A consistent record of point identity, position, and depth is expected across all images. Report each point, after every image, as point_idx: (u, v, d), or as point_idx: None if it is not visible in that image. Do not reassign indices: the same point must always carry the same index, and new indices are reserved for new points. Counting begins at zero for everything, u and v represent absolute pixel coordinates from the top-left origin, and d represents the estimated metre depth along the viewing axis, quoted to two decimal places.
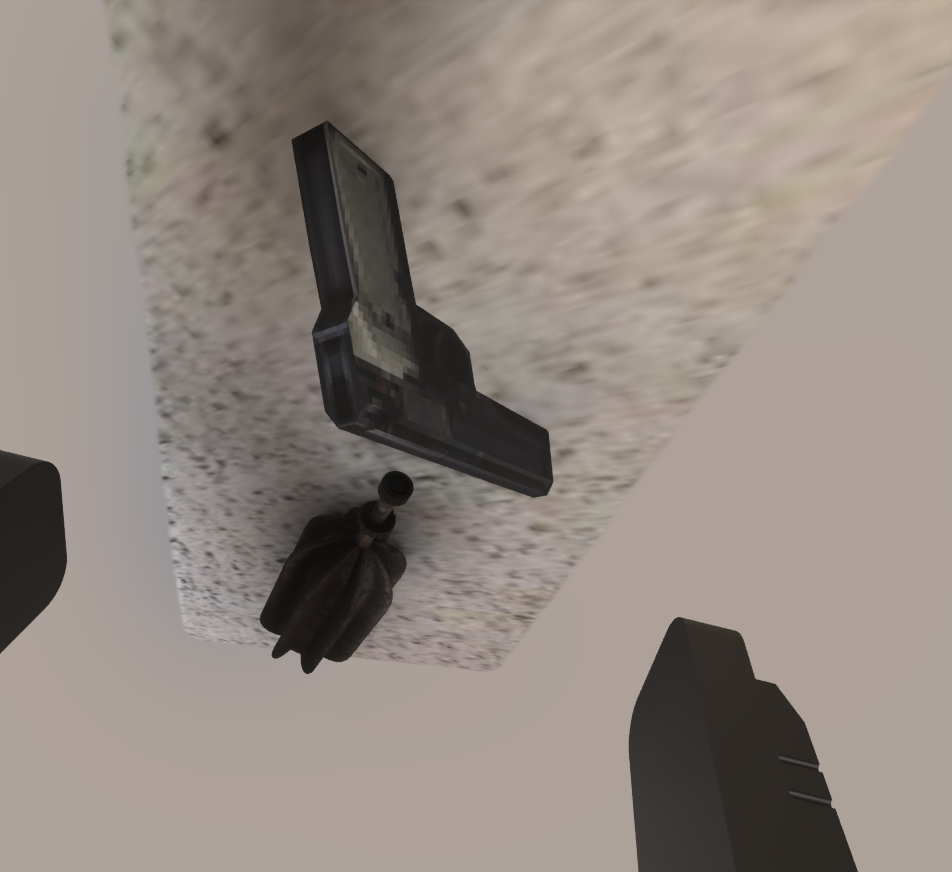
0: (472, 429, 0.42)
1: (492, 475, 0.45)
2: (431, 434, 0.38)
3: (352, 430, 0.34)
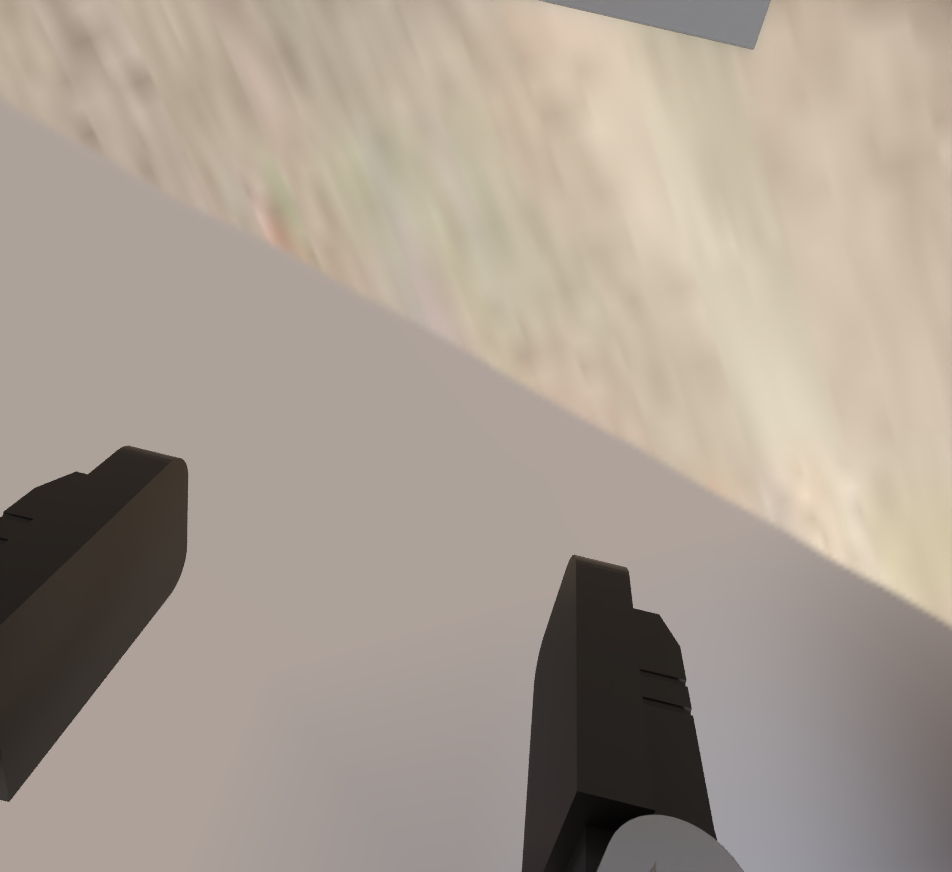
0: None
1: None
2: None
3: None
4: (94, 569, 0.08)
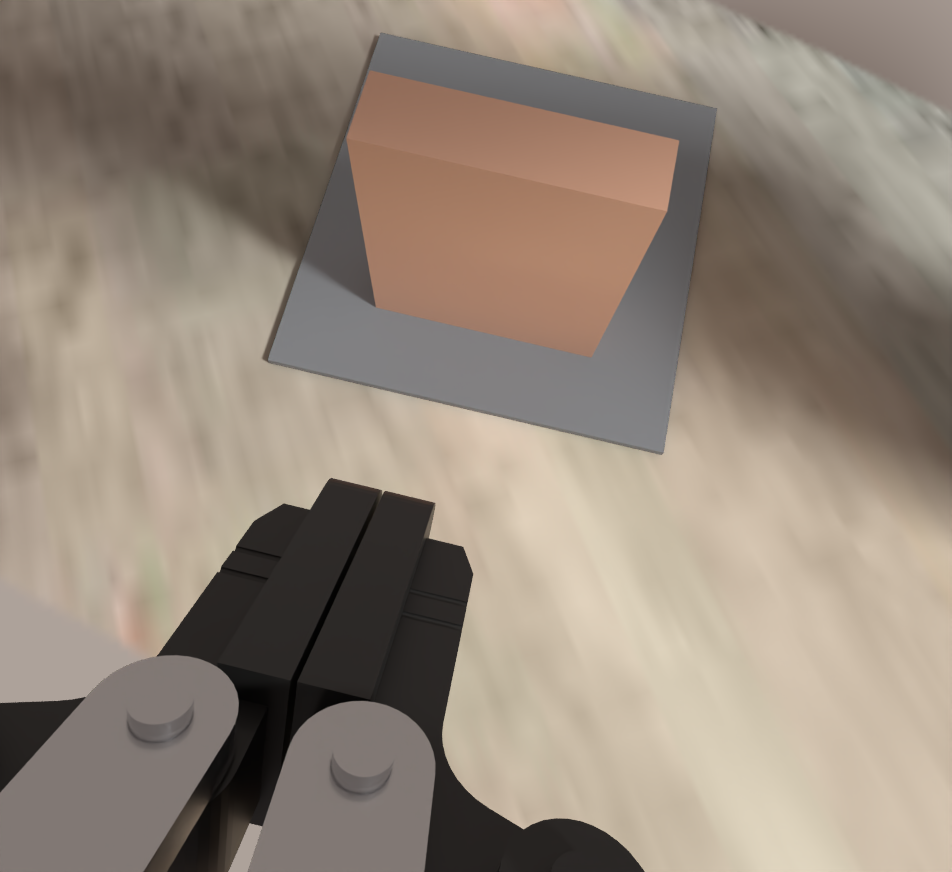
0: None
1: None
2: None
3: None
4: None
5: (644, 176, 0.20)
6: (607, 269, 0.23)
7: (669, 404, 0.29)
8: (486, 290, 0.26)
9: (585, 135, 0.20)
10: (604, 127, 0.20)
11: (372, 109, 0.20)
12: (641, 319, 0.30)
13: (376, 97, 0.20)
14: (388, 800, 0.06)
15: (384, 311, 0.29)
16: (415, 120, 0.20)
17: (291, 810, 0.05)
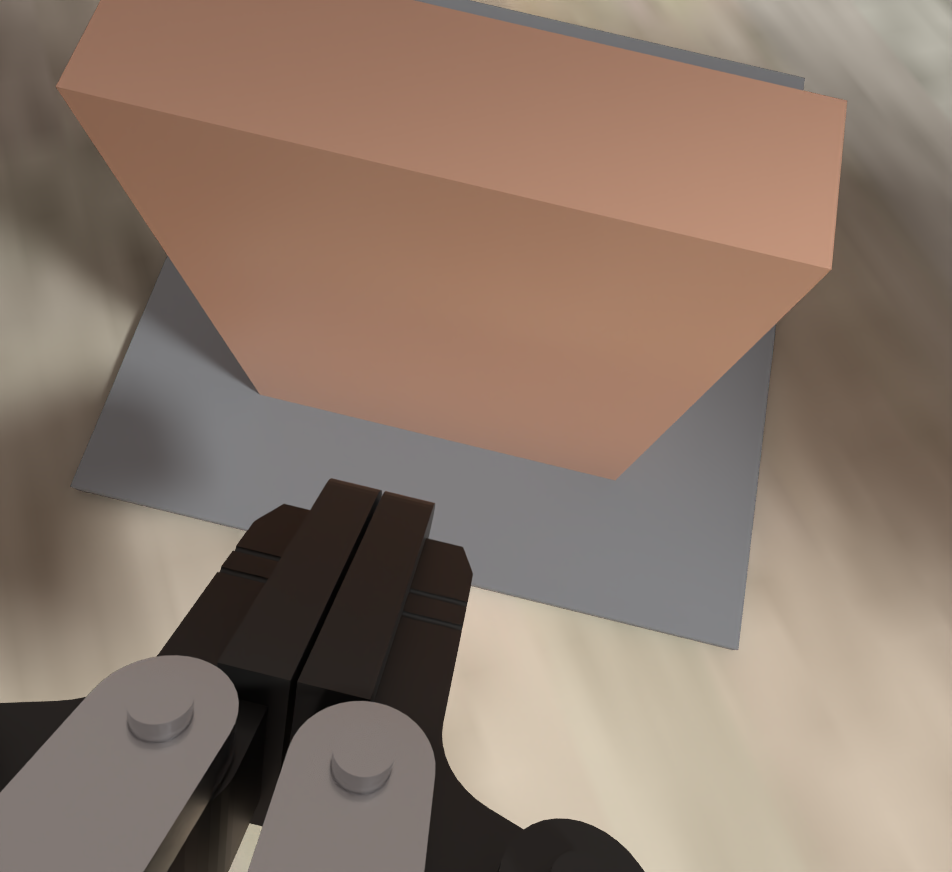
0: None
1: None
2: None
3: None
4: None
5: (771, 183, 0.08)
6: (663, 370, 0.11)
7: (745, 562, 0.17)
8: (432, 385, 0.14)
9: (630, 87, 0.09)
10: (674, 71, 0.09)
11: (129, 21, 0.08)
12: (696, 414, 0.18)
13: None
14: (388, 800, 0.06)
15: (273, 401, 0.18)
16: (229, 48, 0.08)
17: (291, 810, 0.05)
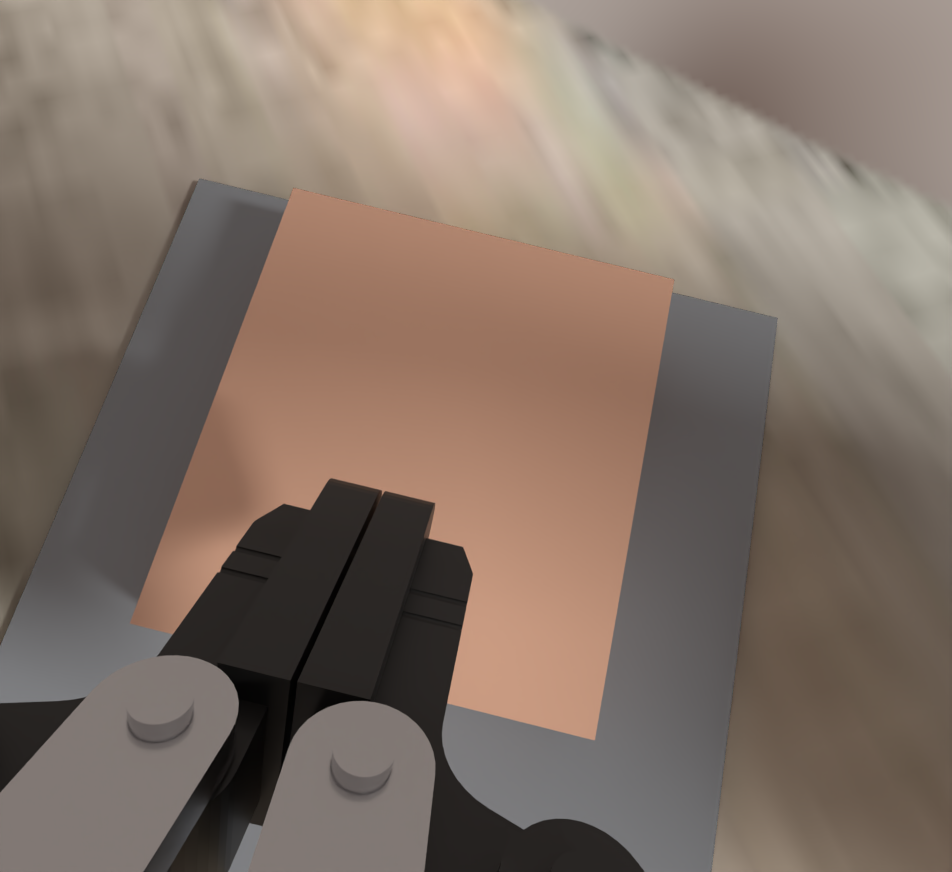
0: None
1: None
2: None
3: None
4: None
5: None
6: (611, 408, 0.15)
7: None
8: None
9: None
10: None
11: None
12: (644, 760, 0.16)
13: None
14: (388, 800, 0.06)
15: None
16: None
17: (291, 810, 0.05)
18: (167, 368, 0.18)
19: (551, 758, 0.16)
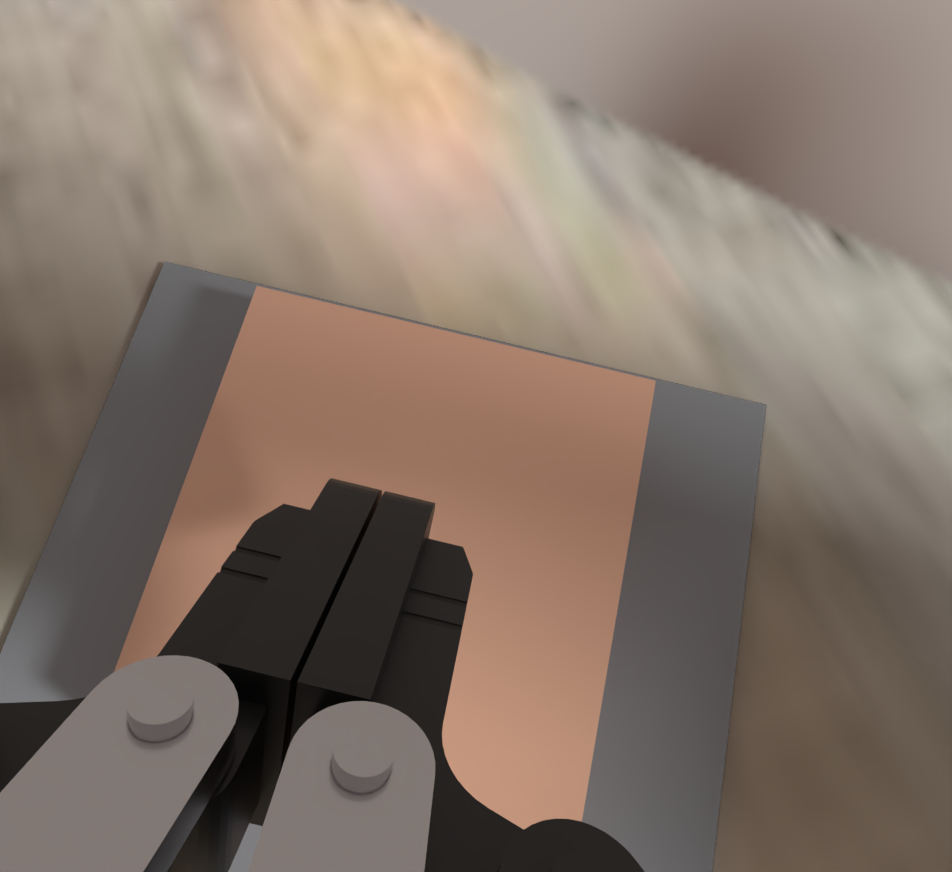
0: None
1: None
2: None
3: None
4: None
5: None
6: (589, 524, 0.15)
7: None
8: None
9: None
10: None
11: None
12: None
13: None
14: (388, 800, 0.06)
15: None
16: None
17: (291, 810, 0.05)
18: (128, 468, 0.17)
19: None
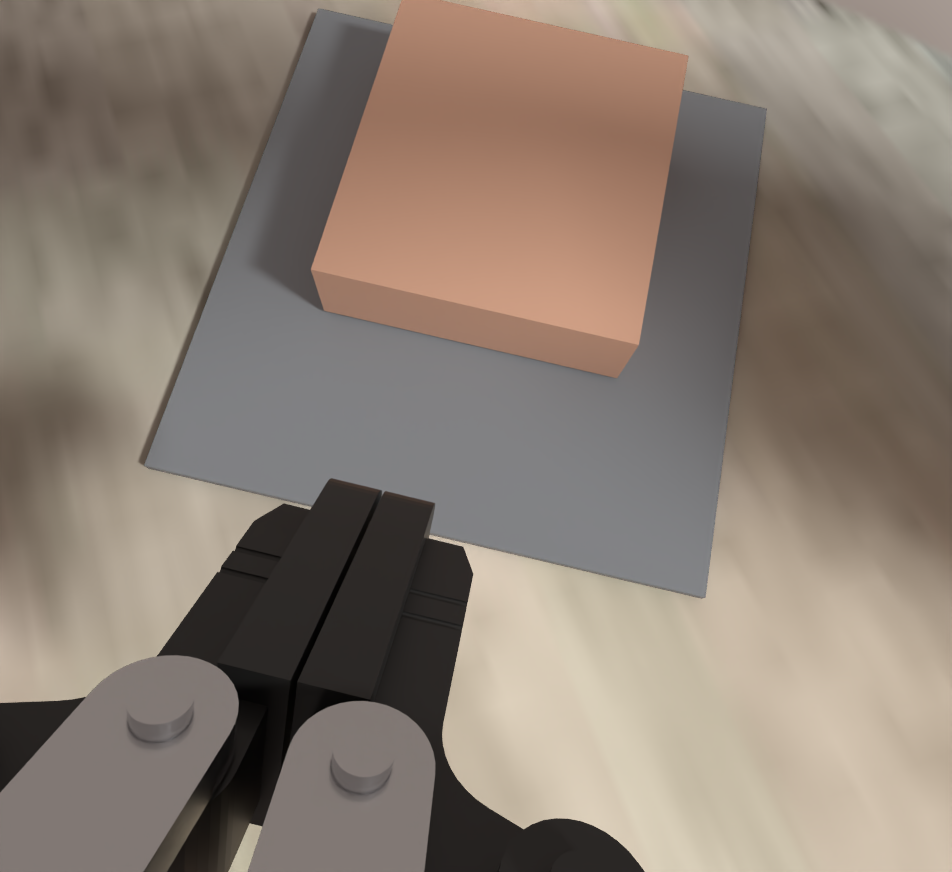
0: None
1: None
2: None
3: None
4: None
5: None
6: (644, 140, 0.21)
7: (712, 525, 0.20)
8: (497, 198, 0.20)
9: None
10: None
11: None
12: (671, 401, 0.21)
13: None
14: (388, 800, 0.06)
15: (312, 393, 0.21)
16: None
17: (291, 810, 0.05)
18: (305, 140, 0.23)
19: (602, 399, 0.21)
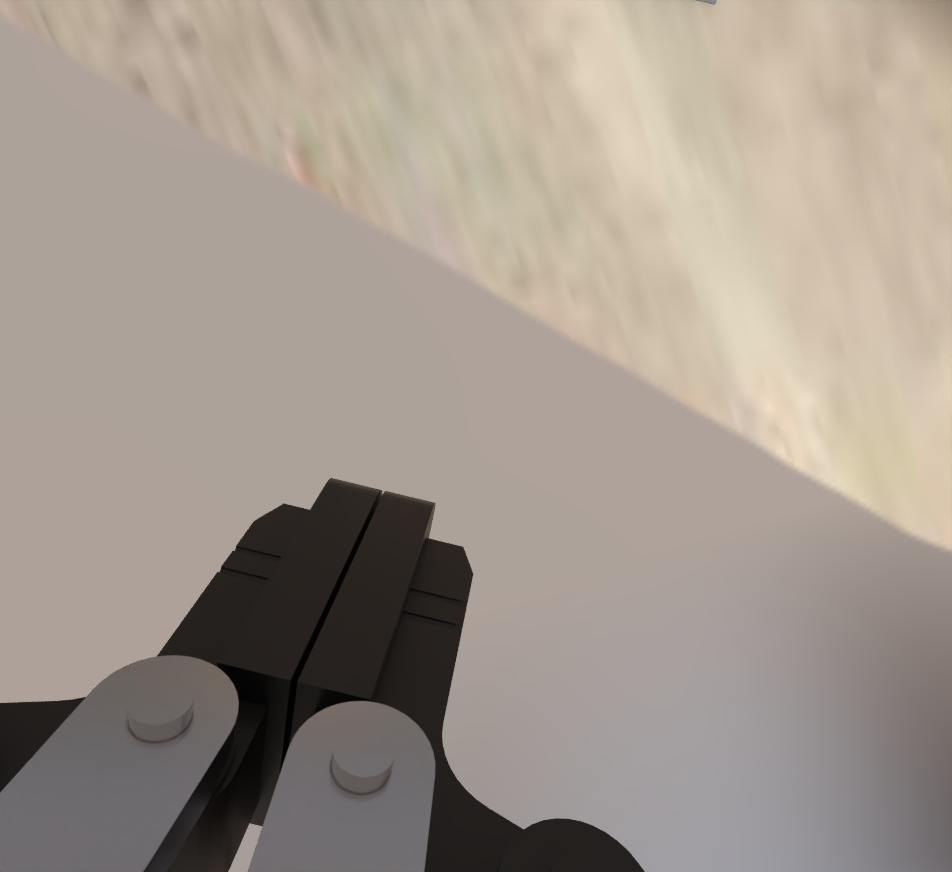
0: None
1: None
2: None
3: None
4: None
5: None
6: None
7: None
8: None
9: None
10: None
11: None
12: None
13: None
14: (389, 800, 0.06)
15: None
16: None
17: (291, 810, 0.05)
18: None
19: None
